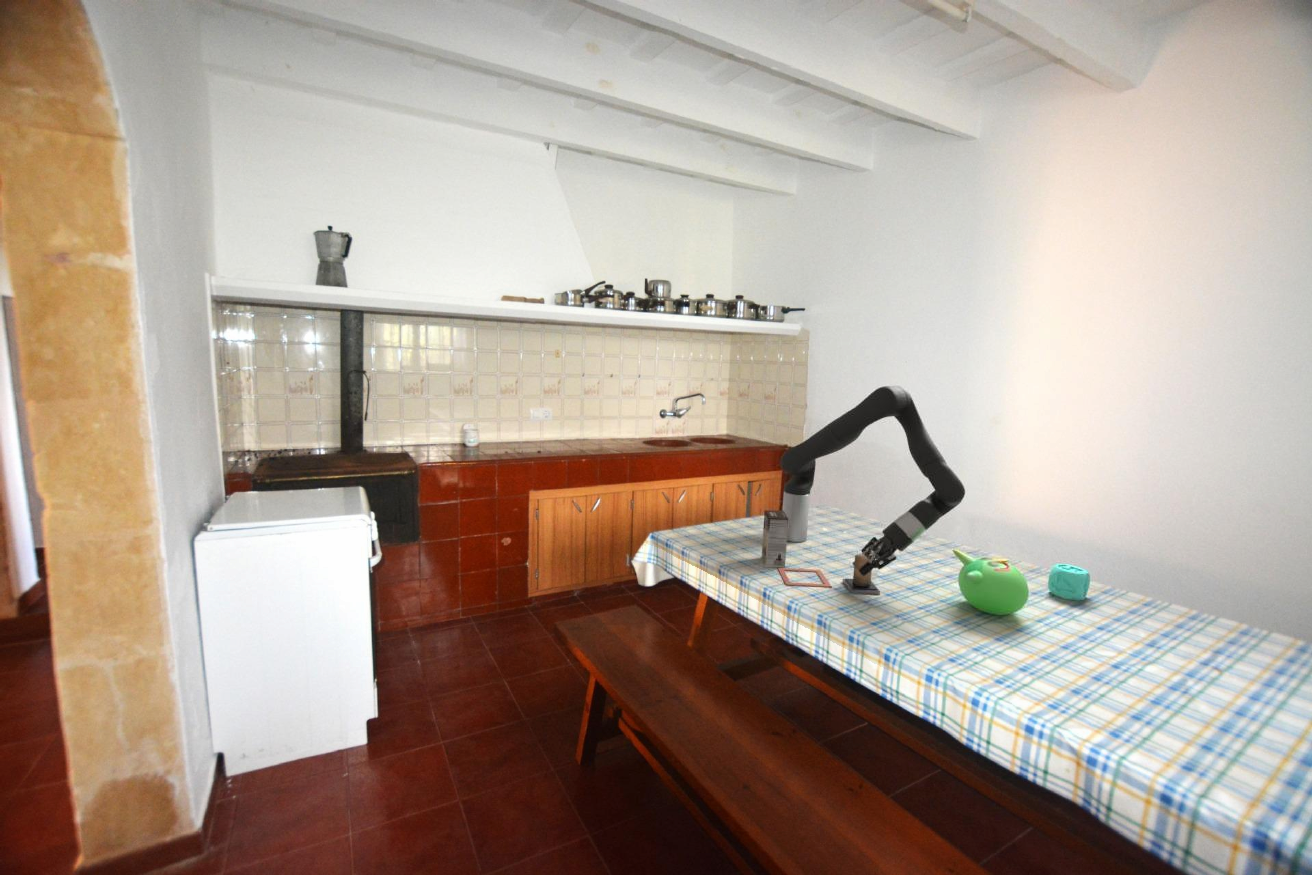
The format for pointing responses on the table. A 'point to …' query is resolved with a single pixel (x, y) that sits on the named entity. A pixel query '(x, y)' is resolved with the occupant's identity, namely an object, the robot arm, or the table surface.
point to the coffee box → (774, 538)
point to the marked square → (787, 582)
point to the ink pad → (860, 588)
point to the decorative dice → (1069, 582)
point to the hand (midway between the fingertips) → (857, 569)
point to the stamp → (857, 576)
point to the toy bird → (992, 584)
